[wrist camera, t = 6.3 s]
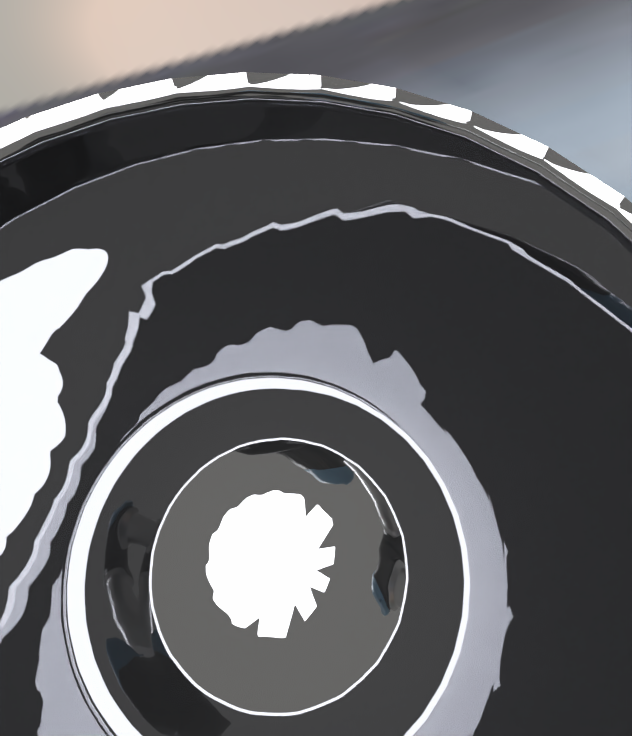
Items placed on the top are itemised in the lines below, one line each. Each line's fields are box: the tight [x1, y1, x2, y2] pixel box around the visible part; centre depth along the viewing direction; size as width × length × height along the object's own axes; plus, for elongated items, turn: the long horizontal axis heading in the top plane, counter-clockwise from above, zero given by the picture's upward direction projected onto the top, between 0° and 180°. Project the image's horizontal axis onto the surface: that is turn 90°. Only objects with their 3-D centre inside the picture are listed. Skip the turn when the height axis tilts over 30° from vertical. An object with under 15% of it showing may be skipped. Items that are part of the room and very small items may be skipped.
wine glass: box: [0, 72, 632, 736], centre depth 10 cm, size 8×8×15 cm
